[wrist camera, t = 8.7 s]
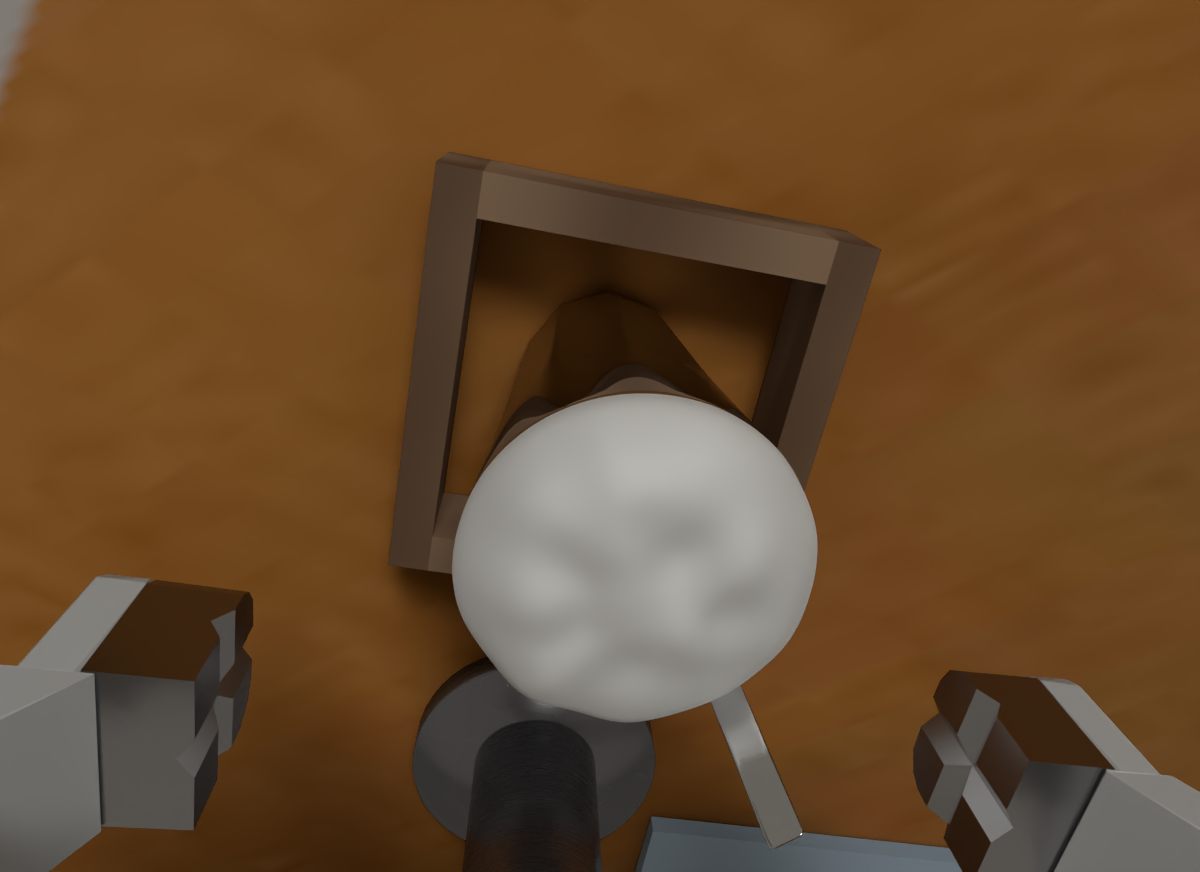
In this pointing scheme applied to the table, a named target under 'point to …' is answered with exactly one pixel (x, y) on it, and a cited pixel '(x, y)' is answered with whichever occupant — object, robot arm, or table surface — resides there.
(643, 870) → the pad
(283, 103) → the table surface
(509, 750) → the latch post
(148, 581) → the robot arm
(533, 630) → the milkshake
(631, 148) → the table surface
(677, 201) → the brown square frame
